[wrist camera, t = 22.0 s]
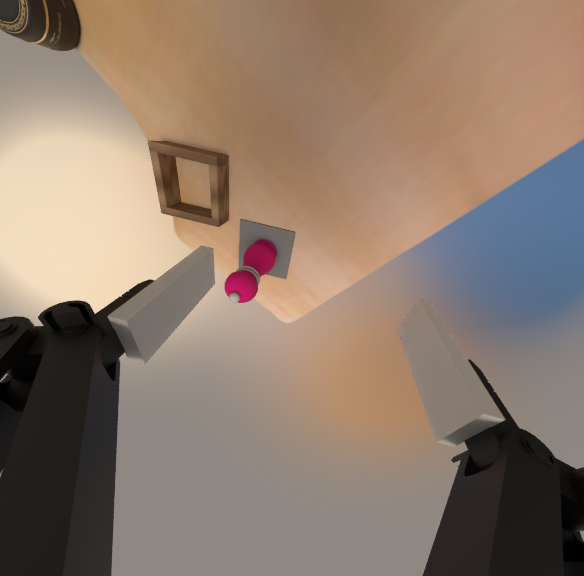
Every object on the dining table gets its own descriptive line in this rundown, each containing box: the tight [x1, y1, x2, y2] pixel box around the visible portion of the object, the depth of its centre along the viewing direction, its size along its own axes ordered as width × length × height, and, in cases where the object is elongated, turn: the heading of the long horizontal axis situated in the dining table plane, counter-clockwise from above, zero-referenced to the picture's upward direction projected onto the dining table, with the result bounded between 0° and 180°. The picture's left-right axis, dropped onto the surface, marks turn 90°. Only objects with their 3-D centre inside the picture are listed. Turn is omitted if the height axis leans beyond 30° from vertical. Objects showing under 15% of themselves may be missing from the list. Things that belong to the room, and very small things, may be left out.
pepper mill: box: [225, 240, 277, 303], centre depth 43 cm, size 7×7×20 cm
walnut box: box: [148, 141, 229, 227], centre depth 43 cm, size 13×13×5 cm
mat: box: [239, 219, 295, 279], centre depth 51 cm, size 13×13×1 cm
